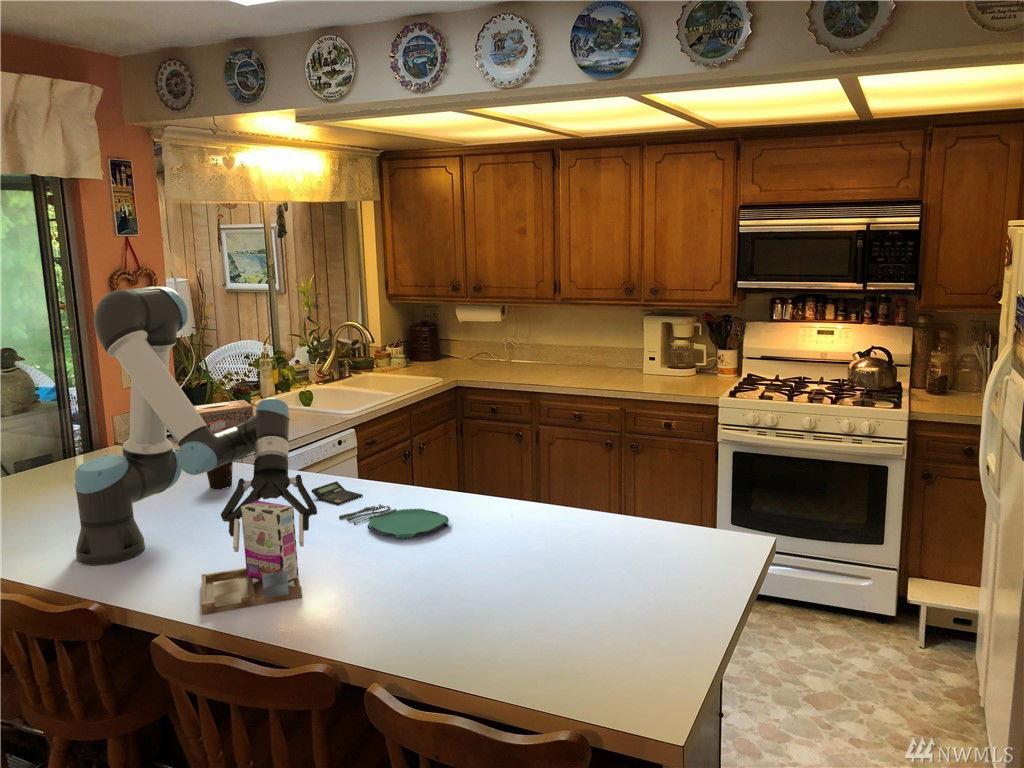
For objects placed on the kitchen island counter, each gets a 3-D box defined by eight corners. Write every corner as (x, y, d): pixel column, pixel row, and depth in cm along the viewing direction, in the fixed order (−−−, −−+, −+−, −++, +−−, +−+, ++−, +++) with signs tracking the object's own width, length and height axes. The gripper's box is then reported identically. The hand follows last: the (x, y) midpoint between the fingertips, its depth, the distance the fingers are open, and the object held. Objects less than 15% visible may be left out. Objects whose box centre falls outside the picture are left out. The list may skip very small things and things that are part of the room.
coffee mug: (226, 491, 243) (223, 459, 241) (200, 490, 245) (197, 458, 243) (246, 479, 254) (243, 449, 252) (221, 478, 256) (218, 448, 254)
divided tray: (202, 614, 164) (199, 586, 162) (202, 583, 178) (199, 557, 177) (302, 597, 170) (300, 570, 169) (294, 568, 185) (292, 543, 184)
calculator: (338, 506, 228) (337, 496, 228) (311, 498, 235) (311, 489, 234) (362, 497, 235) (362, 487, 235) (336, 490, 242) (335, 481, 242)
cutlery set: (404, 548, 196) (403, 539, 196) (331, 522, 216) (331, 514, 216) (462, 526, 211) (461, 518, 210) (389, 504, 231) (389, 496, 230)
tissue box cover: (245, 423, 332) (243, 399, 330) (254, 430, 320) (252, 405, 318) (179, 432, 318) (176, 408, 316) (186, 440, 306) (183, 414, 304)
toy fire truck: (191, 452, 288) (188, 424, 286) (222, 444, 298) (220, 417, 296) (201, 455, 284) (198, 426, 282) (233, 447, 293) (230, 420, 291)
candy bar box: (300, 577, 175) (294, 505, 172) (284, 586, 171) (278, 513, 168) (262, 568, 180) (256, 498, 177) (245, 577, 176) (239, 505, 173)
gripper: (211, 455, 179) (204, 544, 167) (325, 448, 183) (326, 534, 171) (217, 471, 185) (211, 558, 173) (328, 464, 189) (329, 548, 178)
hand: (268, 546), depth 172 cm, fingers open, 13 cm apart
